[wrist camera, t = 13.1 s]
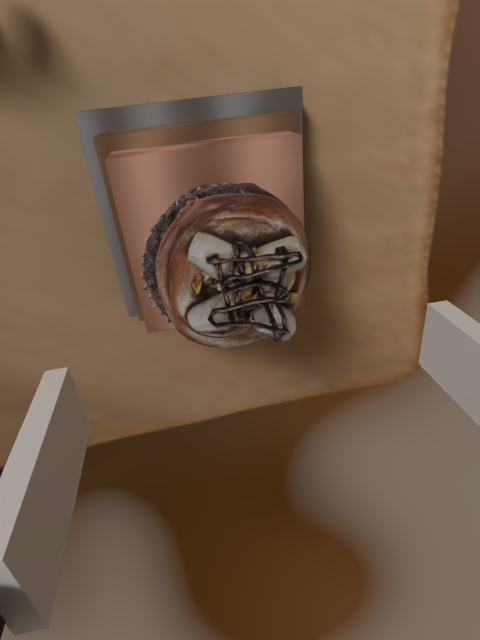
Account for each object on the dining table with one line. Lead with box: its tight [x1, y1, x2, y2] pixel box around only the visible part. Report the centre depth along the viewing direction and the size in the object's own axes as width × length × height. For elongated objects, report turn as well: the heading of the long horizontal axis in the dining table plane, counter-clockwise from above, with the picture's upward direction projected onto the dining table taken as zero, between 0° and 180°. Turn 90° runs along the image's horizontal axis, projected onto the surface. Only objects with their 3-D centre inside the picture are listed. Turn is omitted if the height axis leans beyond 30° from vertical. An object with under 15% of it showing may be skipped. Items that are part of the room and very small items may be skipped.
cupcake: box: [141, 182, 311, 348], centre depth 23 cm, size 10×10×10 cm
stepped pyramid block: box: [74, 86, 306, 333], centre depth 32 cm, size 17×17×11 cm
